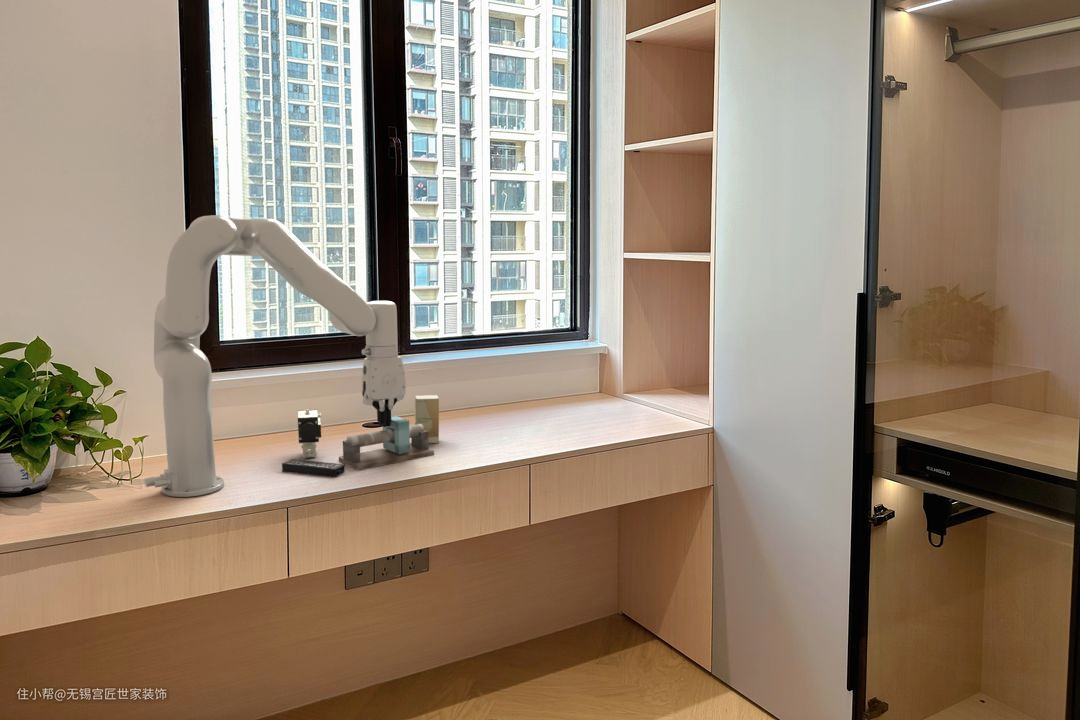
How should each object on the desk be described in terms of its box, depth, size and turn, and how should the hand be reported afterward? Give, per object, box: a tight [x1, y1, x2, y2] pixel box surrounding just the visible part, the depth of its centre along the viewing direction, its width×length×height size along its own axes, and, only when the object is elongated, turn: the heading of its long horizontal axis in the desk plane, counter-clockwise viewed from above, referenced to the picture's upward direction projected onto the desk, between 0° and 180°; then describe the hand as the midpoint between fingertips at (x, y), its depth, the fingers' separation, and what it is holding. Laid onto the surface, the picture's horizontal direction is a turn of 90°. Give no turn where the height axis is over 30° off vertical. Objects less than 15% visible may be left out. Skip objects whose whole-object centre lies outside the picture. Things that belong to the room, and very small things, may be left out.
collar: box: [382, 414, 411, 454], centre depth 209 cm, size 3×8×8 cm, turn 39°
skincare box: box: [414, 394, 440, 444], centre depth 222 cm, size 6×4×12 cm
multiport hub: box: [281, 458, 346, 478], centre depth 196 cm, size 4×14×2 cm, turn 71°
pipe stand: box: [338, 424, 435, 471], centre depth 207 cm, size 21×10×7 cm, turn 129°
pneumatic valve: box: [297, 408, 322, 460], centre depth 208 cm, size 6×12×12 cm, turn 15°
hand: (384, 425), depth 206 cm, fingers closed
